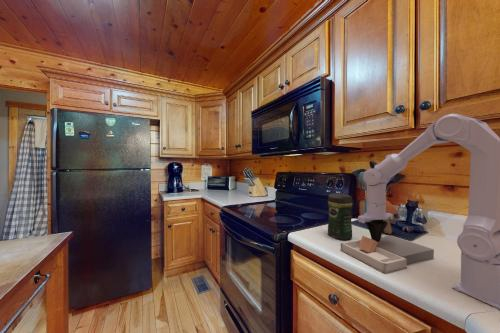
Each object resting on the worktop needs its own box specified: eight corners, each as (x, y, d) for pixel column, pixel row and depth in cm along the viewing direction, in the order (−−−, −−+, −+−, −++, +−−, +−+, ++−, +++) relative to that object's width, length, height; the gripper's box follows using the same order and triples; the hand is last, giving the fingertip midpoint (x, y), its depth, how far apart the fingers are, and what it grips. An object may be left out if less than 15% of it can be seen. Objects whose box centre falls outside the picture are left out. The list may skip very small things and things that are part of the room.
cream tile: (378, 260, 60) (378, 267, 60) (389, 258, 61) (389, 264, 61) (365, 254, 64) (365, 260, 64) (376, 252, 65) (375, 258, 65)
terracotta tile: (377, 242, 69) (373, 239, 68) (372, 254, 68) (368, 252, 67) (366, 237, 73) (362, 235, 72) (361, 249, 72) (357, 247, 72)
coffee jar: (356, 239, 83) (356, 194, 83) (341, 241, 81) (341, 195, 80) (338, 231, 92) (338, 191, 92) (324, 234, 90) (324, 192, 89)
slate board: (433, 258, 66) (433, 249, 66) (402, 266, 61) (402, 256, 61) (391, 242, 79) (391, 235, 79) (363, 248, 74) (363, 240, 74)
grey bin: (406, 268, 60) (406, 258, 60) (384, 273, 57) (384, 264, 57) (359, 246, 75) (359, 239, 75) (340, 250, 72) (340, 242, 72)
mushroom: (371, 231, 93) (372, 199, 93) (383, 229, 96) (384, 198, 95) (389, 237, 85) (389, 202, 85) (401, 235, 88) (401, 201, 88)
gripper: (380, 199, 77) (379, 234, 77) (351, 201, 72) (350, 239, 72) (399, 202, 70) (398, 241, 71) (368, 205, 66) (368, 246, 66)
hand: (375, 240), depth 71 cm, fingers closed
